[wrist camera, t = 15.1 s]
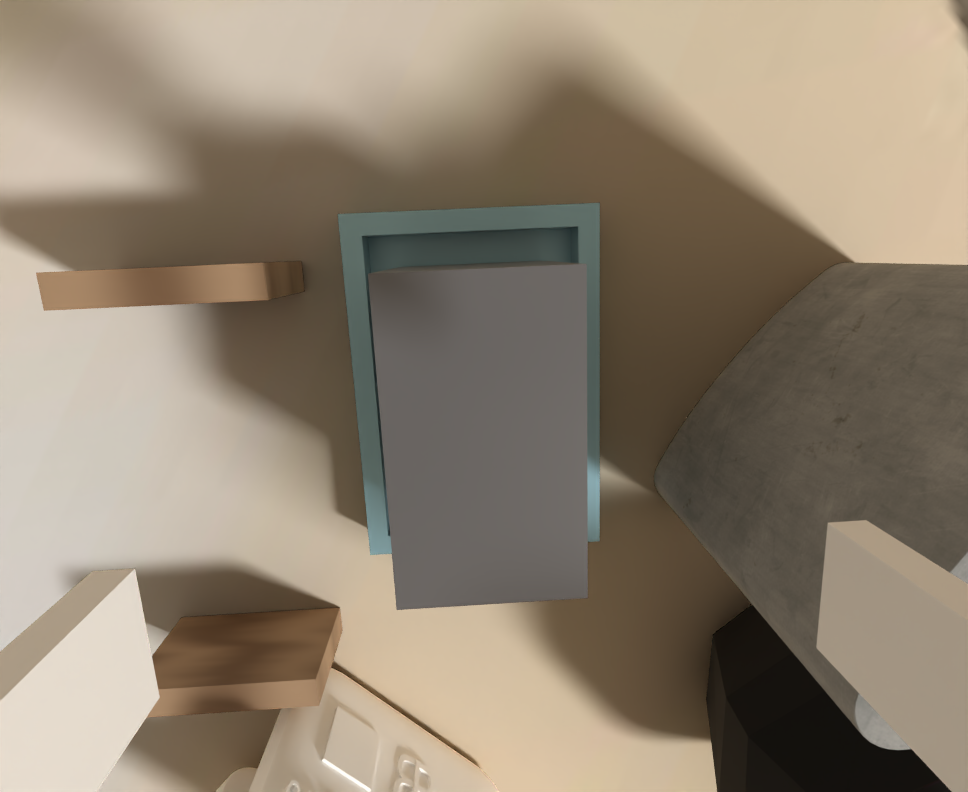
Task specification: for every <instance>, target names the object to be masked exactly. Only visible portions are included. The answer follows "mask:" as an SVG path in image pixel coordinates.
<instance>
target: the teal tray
mask: <svg viewBox="0 0 968 792" xmlns="http://www.w3.org/2000/svg"><path fill="white" fill-rule="evenodd" d="M338 223H339V234H340V244H341V254H342V265H343V275H344V286H345V296H346V306H347V317H348V327H349V338H350V348H351V358H352V369H353V379H354V390H355V400H356V410H357V421H358V431H359V442H360V452H361V462H362V473H363V483H364V494H365V504H366V514H367V525H368V535H369V546H370V555H377V554H392V548H391V537H390V525H389V514H388V502H387V490H386V479H385V467H384V455H383V444H382V432H381V420H380V409H379V397H378V386H377V374H376V362H375V351H374V339H373V327H372V316H371V304H370V293H369V281H368V274H369V273H374V272H378V271H383V270H388V269H393V268H397V267H408V266H430V265H453V264H475V263H497V262H520V261H554V262H568V263H581V264H587V490H588V542H594V541H600V203H582V204H559V205H536V206H512V207H489V208H466V209H442V210H419V211H396V212H372V213H349V214H338Z"/></svg>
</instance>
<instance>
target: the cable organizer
mask: <svg viewBox="0 0 968 792" xmlns="http://www.w3.org/2000/svg"><path fill="white" fill-rule="evenodd" d="M216 792H499V790H498V789H497V787H496V785H495V784H494V783H493V781H492V780H491V779H490V778H489V777H488V776H487V775H486V773H485V772H483V771H482V770H481V769H480V768H479V767H478V766H476V765H475V764H473V763H472V762H471V761H469V760H468V759H466V758H465V757H463V756H462V755H460V754H459V753H457V752H456V751H455V750H453V749H452V748H450V747H449V746H447V745H446V744H444V743H443V742H442V741H440V740H439V739H437V738H436V737H434V736H433V735H431V734H430V733H429V732H427V731H426V730H424V729H423V728H421V727H420V726H418V725H417V724H415V723H414V722H413V721H411V720H410V719H408V718H407V717H405V716H404V715H402V714H401V713H400V712H398V711H397V710H395V709H394V708H392V707H391V706H389V705H388V704H387V703H385V702H384V701H382V700H381V699H379V698H378V697H376V696H375V695H373V694H372V693H371V692H369V691H368V690H366V689H365V688H363V687H362V686H360V685H359V684H358V683H356V682H355V681H353V680H352V679H350V678H349V677H347V676H346V675H344V674H343V673H341V672H339V671H337V670H335V669H333V668H331V669H330V672H329V676H328V679H327V682H326V685H325V689H324V692H323V695H322V698H321V701H320V705H319V706H309V707H295V708H281V710H280V713H279V715H278V718H277V720H276V723H275V726H274V728H273V731H272V733H271V736H270V738H269V741H268V743H267V746H266V749H265V751H264V754H263V756H262V759H261V761H260V764H259V766H258V769H257V768H251V767H246V768H241V769H238V770H236V771H234V772H233V773H232V774H231V775H230V776H229V777H228V778H227V779H226V780H225V781H224V782H223V783H222V785H221V786H220V787H219V788H218V789H217V790H216Z"/></svg>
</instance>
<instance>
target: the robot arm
mask: <svg viewBox="0 0 968 792" xmlns="http://www.w3.org/2000/svg"><path fill="white" fill-rule="evenodd" d="M816 648H817V649H818V650H819V651H820V652H821V653H822V654H823V655H824V656H825V658H826V659H827V660H828V661H829V662H830V663H831V664H832V665H833V666H834V667H835V668H836V669H837V670H838V671H839V672H840V673H841V675H842V676H843V677H844V678H845V679H846V680H847V681H848V682H849V683H850V684H851V685H852V686H853V687H854V688H855V689H856V690H857V692H858V693H859V694H860V695H861V696H862V697H863V698H864V699H865V700H866V701H867V702H868V703H869V704H870V705H871V706H872V707H873V709H874V710H875V711H876V712H877V713H878V714H879V715H880V716H881V717H882V718H883V719H884V720H885V721H886V722H887V723H888V724H889V726H890V727H891V728H892V729H893V730H894V731H895V732H896V733H897V734H898V735H899V736H900V737H901V738H902V739H903V740H904V741H905V743H906V744H907V745H908V746H909V747H910V748H911V749H912V750H913V751H914V752H915V753H916V754H917V755H918V756H919V757H920V758H921V760H922V761H923V762H924V763H925V764H926V765H927V766H928V767H929V768H930V769H931V770H932V771H933V772H934V773H935V774H936V775H937V777H938V778H939V779H940V780H941V781H942V782H943V783H944V784H945V785H946V786H947V787H948V788H949V789H950V790H951V791H952V792H968V584H967V583H965V582H964V581H962V580H961V579H959V578H957V577H956V576H954V575H953V574H951V573H949V572H948V571H946V570H945V569H943V568H941V567H940V566H938V565H937V564H935V563H933V562H932V561H930V560H929V559H927V558H926V557H924V556H922V555H921V554H919V553H918V552H916V551H914V550H913V549H911V548H910V547H908V546H906V545H905V544H903V543H902V542H900V541H898V540H897V539H895V538H894V537H892V536H891V535H889V534H887V533H886V532H884V531H883V530H881V529H879V528H878V527H876V526H875V525H873V524H871V523H870V522H868V521H867V520H860V521H845V522H830V523H828V525H827V536H826V547H825V558H824V569H823V580H822V591H821V602H820V613H819V624H818V634H817V645H816ZM159 698H160V696H159V691H158V686H157V680H156V675H155V670H154V665H153V660H152V655H151V649H150V644H149V639H148V634H147V629H146V623H145V618H144V613H143V608H142V603H141V597H140V592H139V587H138V582H137V577H136V571H135V569H121V570H106V571H92V572H91V573H90V574H89V575H88V576H86V577H85V578H84V579H83V580H82V581H81V582H80V583H78V584H77V585H76V586H75V587H74V588H73V589H72V590H70V591H69V592H68V593H67V594H66V595H65V596H64V597H62V598H61V599H60V600H59V601H58V602H57V603H56V604H54V605H53V606H52V607H51V608H50V609H49V610H48V611H46V612H45V613H44V614H43V615H42V616H41V617H40V618H38V619H37V620H36V621H35V622H34V623H33V624H31V625H30V626H29V627H28V628H27V629H26V630H25V631H23V632H22V633H21V634H20V635H19V636H18V637H17V638H15V639H14V640H13V641H12V642H11V643H10V644H9V645H7V646H6V647H5V648H4V649H3V650H2V651H1V652H0V792H97V791H98V790H99V788H100V787H101V785H102V784H103V782H104V781H105V779H106V778H107V776H108V775H109V773H110V772H111V770H112V769H113V767H114V766H115V764H116V763H117V761H118V760H119V758H120V757H121V755H122V753H123V752H124V750H125V749H126V747H127V746H128V744H129V743H130V741H131V740H132V738H133V737H134V735H135V734H136V732H137V731H138V729H139V728H140V726H141V725H142V723H143V722H144V720H145V719H146V717H147V716H148V714H149V713H150V711H151V710H152V708H153V707H154V705H155V704H156V702H157V701H158V699H159Z"/></svg>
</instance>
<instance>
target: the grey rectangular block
mask: <svg viewBox="0 0 968 792" xmlns="http://www.w3.org/2000/svg"><path fill="white" fill-rule="evenodd" d="M368 281H369V293H370V304H371V316H372V327H373V339H374V351H375V362H376V374H377V386H378V397H379V409H380V420H381V432H382V444H383V455H384V467H385V479H386V490H387V502H388V514H389V525H390V537H391V548H392V560H393V572H394V583H395V595H396V607H397V610H403V609H419V608H435V607H451V606H468V605H484V604H500V603H516V602H532V601H549V600H565V599H581V598H588V490H587V264H581V263H568V262H554V261H520V262H497V263H475V264H453V265H430V266H408V267H397V268H393V269H388V270H383V271H378V272H374V273H369V274H368Z"/></svg>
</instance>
